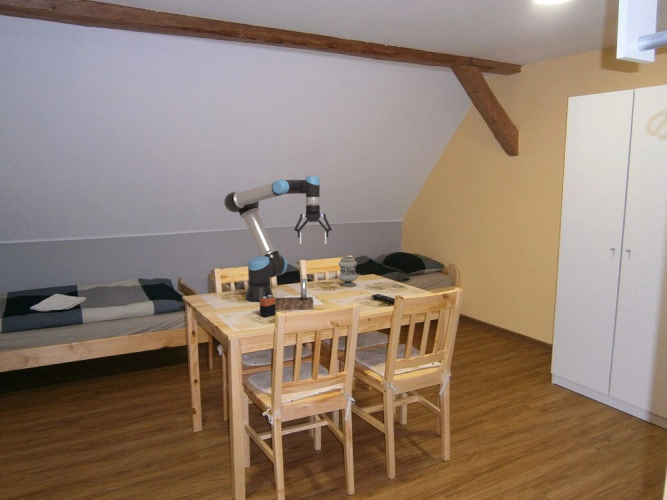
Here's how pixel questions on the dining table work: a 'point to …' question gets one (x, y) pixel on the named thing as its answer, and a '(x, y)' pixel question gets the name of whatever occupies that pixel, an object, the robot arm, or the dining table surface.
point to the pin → (303, 289)
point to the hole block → (294, 303)
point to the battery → (267, 306)
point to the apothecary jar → (348, 271)
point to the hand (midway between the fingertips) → (313, 243)
